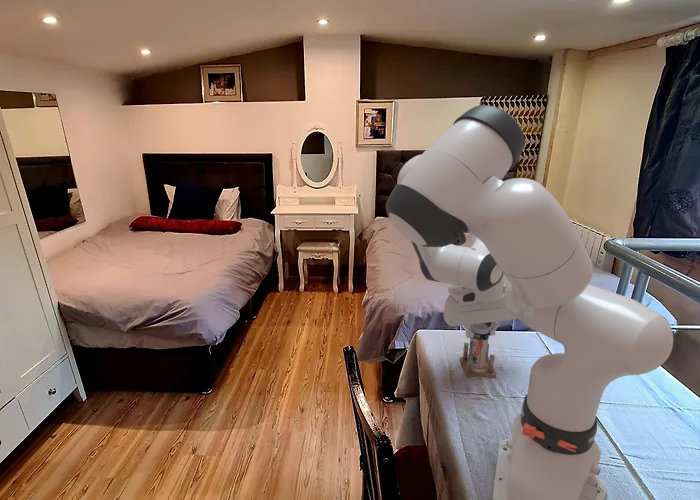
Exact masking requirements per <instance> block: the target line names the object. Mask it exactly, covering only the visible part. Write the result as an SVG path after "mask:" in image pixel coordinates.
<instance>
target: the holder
mask: <svg viewBox="0 0 700 500" xmlns="http://www.w3.org/2000/svg"><path fill="white" fill-rule="evenodd" d="M469 346H470V343H468V342H464V343H463V352H462V356H459V362H460V364H461V367H462V371H463V375H464V377H465V378H478V379H481V378H483V379H486V378H487V379H497V377H498V376H497V373H496V371H495V367H494V366H495V360H496V359H495V358H496V356H495V354H489V349H490V343H488V348H487V358H486V366H485V367H483V368H474V367H472V363H473V355H472V354H469Z"/></svg>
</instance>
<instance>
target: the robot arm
mask: <svg viewBox="0 0 700 500" xmlns="http://www.w3.org/2000/svg"><path fill="white" fill-rule="evenodd" d="M523 132H524V131H523V130H522V128H521V126H520V124H519V122H517V120H516V119H515V118H514V117H513V116H512V115H511V114H510V113H508V112H507V111H505V110H503V108H502V109H501V108H499V107H497V106H493V105H488V104H487V105H485V104H480V105H476V106H473V107H471V108H470V109H468V110H467V111H465V112H463V113H462V114H461V115H460V116H459V117H458V118H456V119H455V121H454V122H453V124H452V125H451V126H450V127H449V128H448V129H447V130H446V131H445V132H444V133H442V134H441V135H440V136H439V137H438V138H437V139H436V140H435V141H434V142H433V143H432V145H430V147H428V148H427V149H426V150H424V151H423V153H422V154H418V155H415V156H413V157H412V158H411V159H409V160H408V161H406V162H405V163H404V165H402V167H401V169H400V170H399V173H398V176H397V180H396V181H397V182H396V183H397V184H396V185H395V186H394V188H393V189H392V191H391V193H390V195H389V196H388V199H387V201H386V203H385V210H386V214H387V216H388V219H389V220H390V221H391V223H392V225H393V227H394V228H395V229H396V231H397V232H398V234H400V235H401V236H402V237H404V238H405V239H406V240H409V241H410V242H411V244H412V247H413V249H414V251H415V254H416V255H417V258H418V260H419V261H418V262H419V267H420V271H421V273H422V274H423V276H424V278H425V279H426V280H428V281H433V282H435V283H436V282H437V283H443V284H448V285H449V286H448V288H447V291H448V293H449V295H448V296H447V297H446V299H445V303H444V308H443V319H444V321H445V323H446V324H448V326H450V327H451V328H453V327H454V328H455V327H460V326H462V327H463V328H464V330H465V337H466V339H470V338H473V337H474V336H473V335H474V332H473V331H472V330H471V326H472V325H473V324H480V323H484V324H486V323H488V324H489V323H491V324H490V326H488V328H489V330H490V331H489V337H490V336H495V335H496V330H497V329H498V328H499V327H500V326H501V322H505V321H512V320H515V321H516V320H518V321H520V322H522V323H523V324H524V325H526V326H527V327H528V328H530V329H532V330H534V331H536V332H538V333H540V334H542V335H544V336H545V337H548V338H550V339H552V340H553V341H555V342H557V343H559V344H561V345H562V346H563V349H564V353H563V352H559V353H556V352H555V353H549V354H545V355H543V356H540V357H539V358H538V359H537V360H535V362H534V363H533V365H532V367H531V369H530V375H529V379H528V388H527V393H526V394H525V396H524V400H523V402H522V404H521V405H522V407H521V413H518V414H516V415H514V417H513V425H512V433H511V439H501V440H500V441H499V444H498V448H497V454H496V455H497V456H496V457H497V458H496V465H495V472H494V480H493V489H492V497H491V500H606V497H607V494H608V487H607V486H606V484H605V483H604V482H603V481H602V480H601V479H600V478H598V476H599V475H600V473H601V469H602V468H601V467H600V461H601V456H602V449H601V448H600V446H599V445H598V444H597V441H595V439H596V436H597V432H598V417H597V413H598V409H599V406H600V403H601V401H602V397H603V394H604V392H605V389H607V387H608V386H609V385H610V384H611V383H612V382H614V381H615V380H617V379H619V378H622V377H627V376H639V375H643V374H647V373H650V372H652V371H655V370H656V369H658V368H659V367H661V366H662V365H663V364H665V362H666V361H667V360H668V358H669V357H670V356H671V355H670V354H671V353H672V350H673V347H674V334H673V330H672V327H671V324H670V323H669V320H668V319H667V317H665V316H664V315H662V314H661V313H659V312H657V311H655V310H654V309H652V308H650V307H648V306H646V305H645V304H642V303H641V302H639V301H638V300H635V299H633V298H630V297H628V296H624V295H622V294H618V293H617V292H613V291H610V290H607V289H604V288H601V287H598V286H595V285H592V284H590V283H591V280H592V277H593V272H594V271H593V270H594V269H593V267H594V266H593V261H592V258H591V257H590V255H589V252H588V251H587V249H586V246H585V245H584V242H583V241H582V239H581V237H580V235H579V232H578V231H577V229H576V227H575V224H573V222H572V220H571V218H570V216H569V215H568V214H567V212H566V211H565V209H564V208H563V207H562V205H561V204H560V203H559V201H558V200H557V199H556V198H555V197H554V195H553V194H552V193H551V192H550V191H548V189H547V188H546V187H545V186H544V185H542V184H541V183H540V182H539V181H536V180H533V179H531V178H525V177H516V178H509V179H506V180H504V177H505V176H506V175H507V173H508V171H510V170H512V169H513V168H514V167H515V165H516V163H518V160H519V158H520V156H521V154H522V153H523V150H524V147H525V144H526V143H525V142H526V141H525V136H524V133H523ZM466 234H470V235H471V241H470V246H469V247H468V246H463V245H464V244H465V243H467V242H466V241H467V237H466ZM505 277H506V279H507V281H508V282H507V285H504V283H505Z"/></svg>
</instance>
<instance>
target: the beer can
mask: <svg viewBox="0 0 700 500" xmlns="http://www.w3.org/2000/svg"><path fill="white" fill-rule="evenodd" d="M488 327H489V326H488V324H486V323H480V324H471V327H470V329H471V330H472V331H473V332H474V335H473V336H474V337H473V338H469V346H468V355H469V354H472V355H473V363H472V367H474V368H483V367H485V366H486V358H487V348H488V344H489V337H490V336H489V331H490V330H489V328H488Z"/></svg>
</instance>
